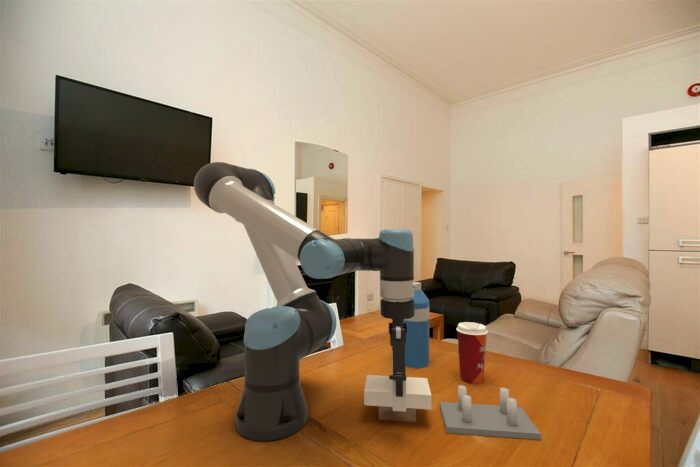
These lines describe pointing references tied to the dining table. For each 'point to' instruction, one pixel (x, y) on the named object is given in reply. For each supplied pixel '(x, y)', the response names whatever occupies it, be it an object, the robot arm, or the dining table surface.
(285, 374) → the robot arm
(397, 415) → the riser block
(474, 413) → the peg stand
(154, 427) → the dining table surface
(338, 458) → the dining table surface
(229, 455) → the dining table surface
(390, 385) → the shelf board
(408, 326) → the water bottle
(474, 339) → the coffee cup
